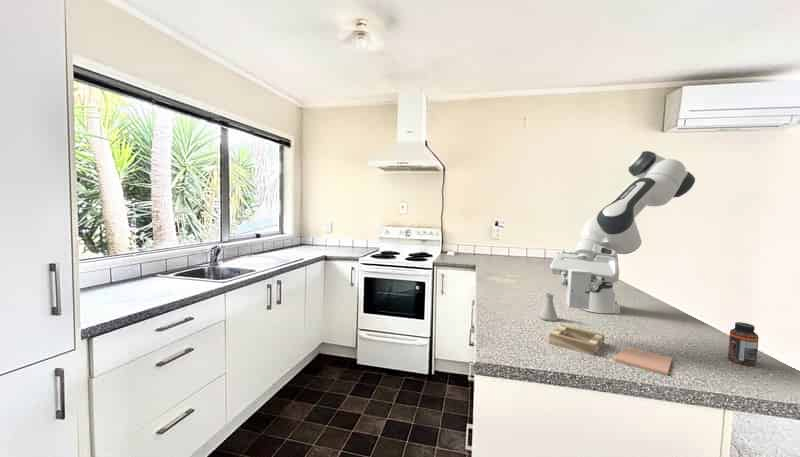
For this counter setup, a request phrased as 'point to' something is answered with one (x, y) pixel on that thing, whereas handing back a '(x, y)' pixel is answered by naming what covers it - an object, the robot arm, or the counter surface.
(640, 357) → the terracotta tile
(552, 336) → the light wooden square frame
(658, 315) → the counter surface
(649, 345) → the counter surface
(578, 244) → the robot arm
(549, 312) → the flask
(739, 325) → the supplement bottle
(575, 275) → the skincare box
